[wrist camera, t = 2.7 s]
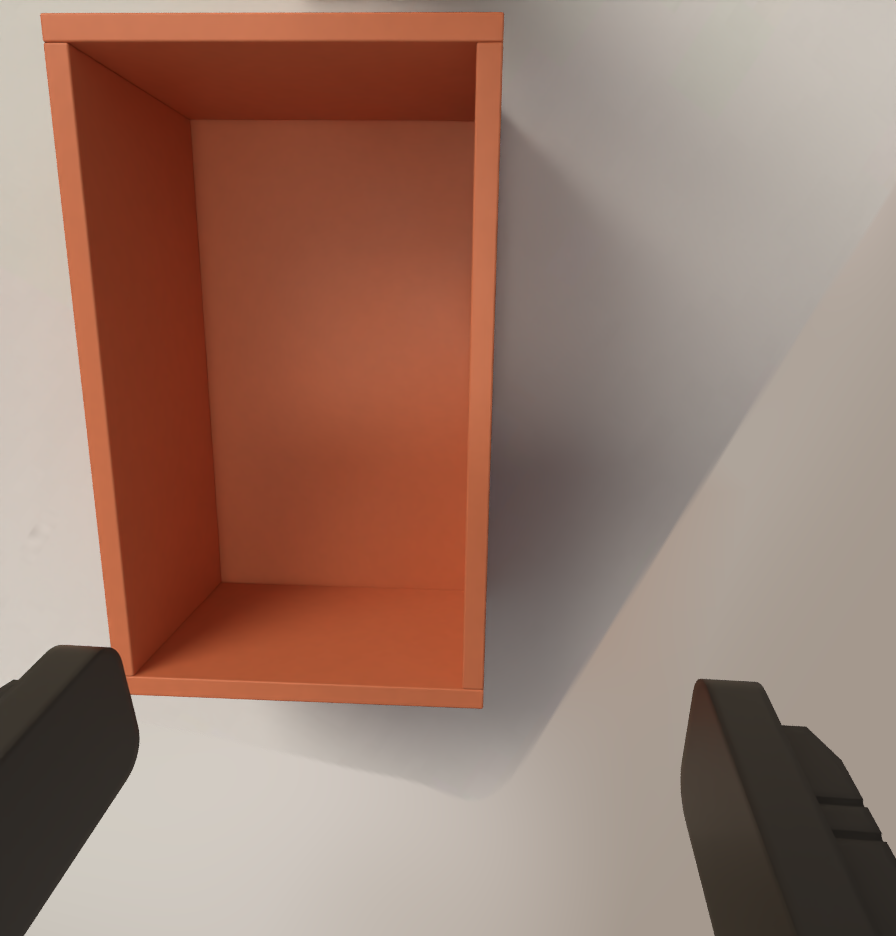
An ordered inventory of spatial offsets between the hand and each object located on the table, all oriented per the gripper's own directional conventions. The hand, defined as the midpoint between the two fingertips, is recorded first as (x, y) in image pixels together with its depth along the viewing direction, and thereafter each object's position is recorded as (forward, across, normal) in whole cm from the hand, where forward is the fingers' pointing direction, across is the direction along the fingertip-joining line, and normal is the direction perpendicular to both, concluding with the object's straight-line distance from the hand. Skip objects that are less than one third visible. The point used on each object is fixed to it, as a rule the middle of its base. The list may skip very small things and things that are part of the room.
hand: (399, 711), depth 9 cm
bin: (+20, -6, 0) cm, 21 cm away
